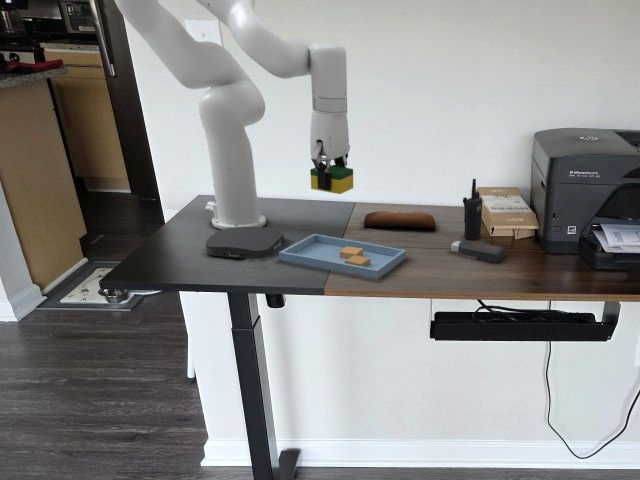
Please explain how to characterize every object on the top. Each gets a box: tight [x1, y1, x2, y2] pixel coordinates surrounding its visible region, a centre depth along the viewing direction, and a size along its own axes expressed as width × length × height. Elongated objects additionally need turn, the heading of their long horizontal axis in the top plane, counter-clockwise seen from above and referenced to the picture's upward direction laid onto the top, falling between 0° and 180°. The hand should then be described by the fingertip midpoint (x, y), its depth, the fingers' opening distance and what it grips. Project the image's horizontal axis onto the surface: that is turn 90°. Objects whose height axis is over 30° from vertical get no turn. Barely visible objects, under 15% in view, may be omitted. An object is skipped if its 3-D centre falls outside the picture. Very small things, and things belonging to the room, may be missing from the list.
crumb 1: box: [339, 246, 363, 259], centre depth 151 cm, size 4×4×1 cm
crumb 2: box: [345, 255, 371, 267], centre depth 147 cm, size 4×4×1 cm
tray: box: [278, 233, 407, 280], centre depth 150 cm, size 23×14×2 cm, turn 73°
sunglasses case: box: [363, 210, 436, 231], centre depth 174 cm, size 18×7×7 cm
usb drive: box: [450, 239, 506, 264], centre depth 159 cm, size 5×12×3 cm, turn 70°
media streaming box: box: [205, 226, 285, 259], centre depth 152 cm, size 15×15×3 cm
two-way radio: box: [462, 178, 483, 241], centre depth 167 cm, size 6×4×15 cm
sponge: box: [309, 163, 354, 195], centre depth 157 cm, size 8×6×4 cm
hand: (332, 185), depth 158 cm, fingers closed on sponge, 6 cm apart
